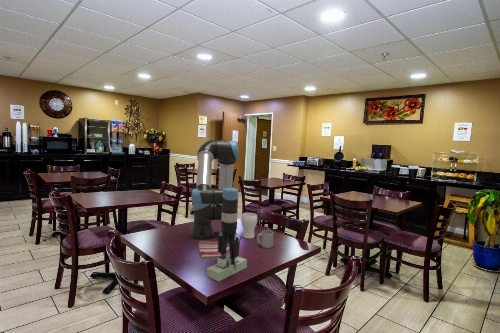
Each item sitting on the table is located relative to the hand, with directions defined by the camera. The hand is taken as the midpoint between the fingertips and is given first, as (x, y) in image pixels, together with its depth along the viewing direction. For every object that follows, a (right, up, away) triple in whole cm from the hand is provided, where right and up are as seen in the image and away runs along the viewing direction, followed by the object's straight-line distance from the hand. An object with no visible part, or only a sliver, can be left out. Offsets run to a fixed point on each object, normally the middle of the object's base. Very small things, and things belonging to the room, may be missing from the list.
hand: (227, 269), depth 134 cm
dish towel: (-10, 0, +27) cm, 29 cm away
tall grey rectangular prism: (0, 0, 0) cm, 0 cm away
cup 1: (+10, +2, +53) cm, 54 cm away
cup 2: (+20, 0, +37) cm, 42 cm away
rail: (0, -1, 0) cm, 1 cm away
